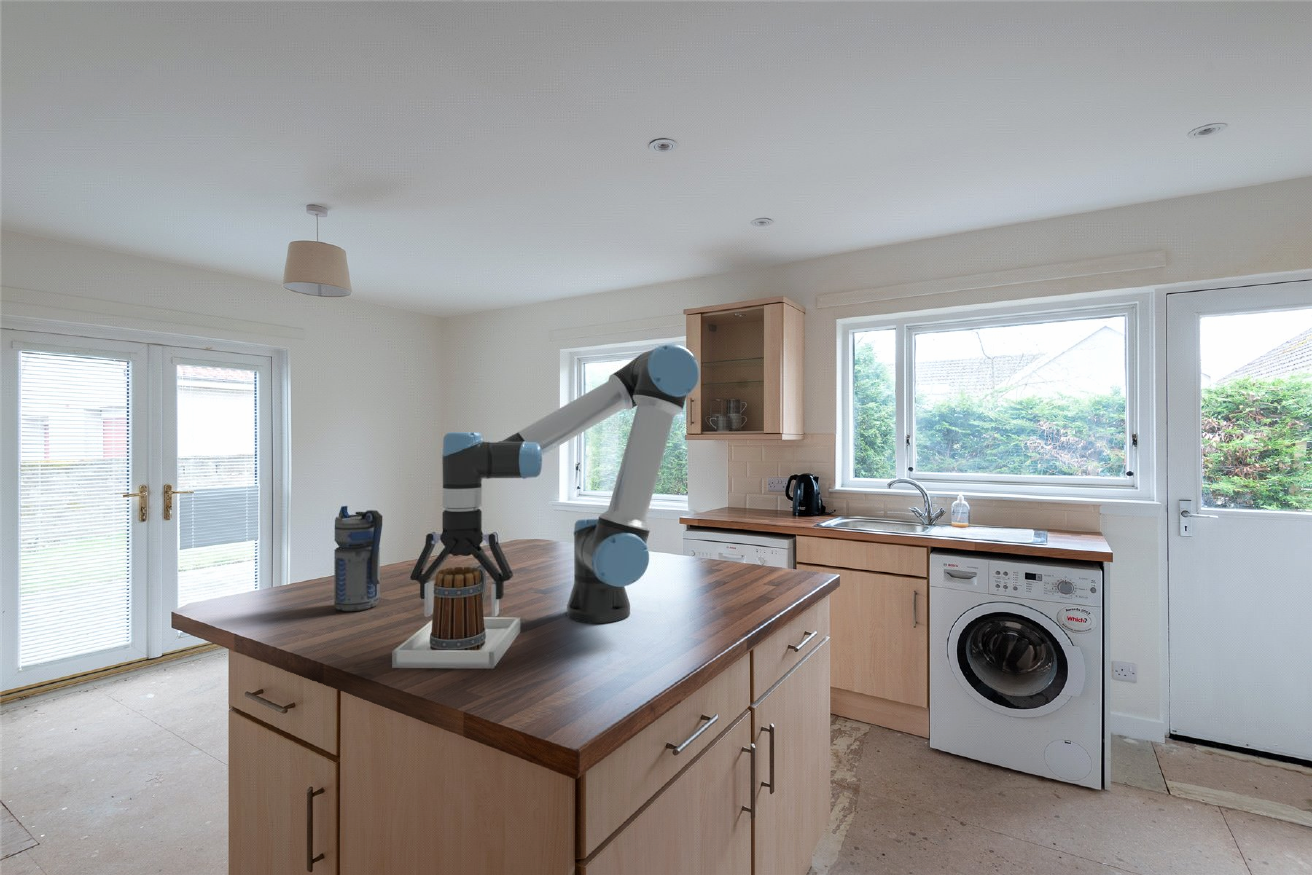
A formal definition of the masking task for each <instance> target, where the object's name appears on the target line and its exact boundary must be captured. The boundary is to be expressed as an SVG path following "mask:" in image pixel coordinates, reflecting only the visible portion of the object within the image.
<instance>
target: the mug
mask: <svg viewBox="0 0 1312 875" xmlns="http://www.w3.org/2000/svg"><path fill="white" fill-rule="evenodd" d="M486 572H487V571H486V570H485V569H484V567H483V566H482V565H481V564H480V563H479V564H478V563H477V564H476V563H473V564H471V565H470V566H464V567H462V566H455V567H454V568H452V567H447V568H445V569H438V571H436V575H435V582H434V583H433V614H432V619H431V621H432V631H431V633H430V649H431V650H479V649H481V648H482V647H483V646H484V644H485V639H486V631H485V628H484V617H485V616H484V605H483V604H484V601H485V597H486V587H487V573H486Z"/></svg>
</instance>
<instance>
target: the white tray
mask: <svg viewBox="0 0 1312 875" xmlns="http://www.w3.org/2000/svg"><path fill="white" fill-rule="evenodd" d="M521 619H522V618H521V617H497V616H496V617H489V616H488V617H485V616H484V628H485V631H486V639H485V644H484V646H483V647H482V648H481V649H479V650H431V649H430V633H431V631H432V620H430V621H429V622H427V624H426V625H424V626H422V628H420V629H419V630H418V631H417V632H415V633H414V634H413V635H411V636H410V637H409V638H407V639H406V640H405V641H404V642H402V643H401V644H400V645H399V646H397V647H396V648H395V649H394V650H392V651H391V653H392V656H391V658H392V659H391V664H392V666H391V667H392V668H391V669H494V668H495V667H496V665H497V664H498V663H499V661H500V660H501V658H502V657H503V656H504V655H505V653H506V652H507V651H508V649H509V648H510V647H511V645H512V644H513V642H514V641H515V639H516V638H517V637H518V635H519V634H520V633H521V631H522V630H521Z"/></svg>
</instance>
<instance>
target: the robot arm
mask: <svg viewBox="0 0 1312 875" xmlns="http://www.w3.org/2000/svg"><path fill="white" fill-rule="evenodd" d="M699 379H700V367H699V364H698V361H697V359H696V358H695V356H694V354H693V353H692V352H691V351H690V350H689V349H688V348H686V347H685V346H683V345H680V344H675V343H671V344H670V343H669V344H661V345H658V346H657V347H655V348H653V349H651V350H648V351H645V352H643V353H641V354H639V355H638V356H637V357H635V358H634V359H632V360H631V361H630V362H628V363H627V364H626V365H624V366H623V367H622V368H620V369H619V370H617V371H615V372H613V373H612V374H610V375H609V377H608V380H607V381H606V382H604V383H602V384H600V385H599V386H597V387H595V388H594V389H592V390H589V391H588V392H586V393H585V394H583V395H581V396H580V397H578V398H576V399H574V400H573V401H570V402H569V403H567V404H564V405H563V406H562V407H560V408H558V409H556V410H554V411H553V412H551V413H548V414H547V415H545V416H543V417H542V418H540V419H538V420H537V421H535V422H533V423H531V424H529V425H528V426H526V427H524V428H522V429H521V430H519V431H517V432H515V433H514V434H511V435H510V436H508V437H506V438H504V439H503V440H500V441H496V442H495V441H493V442H491V441H483V435H482V434H481V433H480V432H479V431H478V432H475V431H474V432H472V431H471V432H466V431H465V432H462V431H461V432H459V431H456V432H455V431H453V432H452V431H450V432H447V433H446V434H445V435H444V436H443V438H442V439H443V440H442V455H441V456H442V459H441V460H442V463H441V464H442V502H441V503H442V506H441V507H442V508H444V509H445V510H443V511H442V512H441V513H442V517H441V518H442V519H441V520H442V521H441V522H442V527H441V528H442V532H441V533H436V532H435V531H432V532H430V533H428V534H426V535H425V544H424V547H423V549H422V551H421V553H420V554H419V558H418V559H417V561H416V564H415V565H414V568H413V569H412V572H411V574H410V576H409V577H410V578H409V579H410V580H412V581H416V582H418V583H419V597H420V599H421V600H424V618H428V617H430V616H431V615H433V606H434V580H431V578H432V577H433V575H435V573H437V572H438V571H437V570H439V568H440V566H442V564H443V563H444V562H445V561H446V560H447V558H448V557H450V555H452V556H453V557H458V556H463V557H469V556H470V555H472V556H473V558H475V559H476V560H477V561H478V563H479V564H481V565H482V566H483V567H484V569H485V572H487V574H488V575H489V576H490V577H491V579H492V580H493V581H494V582H492V583H491V588H490V589H491V591H490V592H491V598H490V599H491V602H490V604H491V605H490V607H491V610H490V611H491V612H490V613H491V614H490V615H491V617H497V616H498V615H499V614H500V611H499V608H500V600H502V599H503V598H504V592H505V590H504V589H505V588H504V586H505V585H504V584H505V582H507V581H510V580H511V579H512V578H513V576H514V573H513V571H512V568H511V567H510V565H509V563H508V560H507V558H506V556H505V554H504V552H503V550H502V548H501V546H500V544H499V537H498V536H499V535H498V533H497V532H496V531H493V532H492V533H485V534H484V533H483V529H482V527H483V525H482V522H483V521H482V520H483V518H482V514H483V513H482V510H481V509H480V507H482V499H483V498H482V497H483V496H482V492H483V491H482V490H483V489H482V480H483V479H487V480H488V479H489V480H490V479H525V480H526V479H529V478H532V479H533V478H537V477H539V476H540V475H541V472H542V467H543V456H544V455H545V454H547V453H549V452H551V451H553V450H554V449H556V448H558V447H560V446H562V445H564V444H565V443H566V442H567V443H568V441H570V440H573V439H574V438H576V437H577V436H579V435H580V434H582V433H585V432H586V431H587V430H589V429H590V428H593V427H594V426H596V425H597V424H599V423H601V422H603V421H605V420H607V419H608V418H610V417H611V416H613V415H615V414H618V412H621V411H622V410H628V411H629V410H632V409H633V408H635V407H636V410H635V412H634V416H633V419H632V420H633V421H632V423H631V427H630V431H629V434H628V438H627V442H626V444H625V449H624V451H623V452H624V453H623V456H622V459H621V463H620V466H619V469H618V474H617V476H616V481H615V484H614V487H613V491H612V494H611V498H610V500H609V501H610V502H609V505H608V509H607V510H606V511H603V512H602V513H601V514H599V516H598V518H582V519H577V520H576V521H575V523H574V530H573V540H574V542H573V545H574V546H573V549H574V550H573V552H574V556H573V557H574V558H573V562H574V563H573V566H574V567H573V570H574V571H573V574H574V576H573V577H574V579H573V585H572V587H571V588H572V589H571V591H570V595H569V598H568V601H567V604H566V617H567V618H568V619H570V620H572V621H576V622H579V623H585V624H586V623H588V624H602V623H603V624H605V623H612V622H617V621H622V620H624V619H626V618H628V617H629V616H630V615H631V603H630V599H629V597H628V592H627V590H626V587H627V586H630V585H632V584H634V583H636V582H637V581H639V580H640V579H641V578H642V577H643V576H644V574H645V573H646V571H647V569H648V566H649V563H650V552H649V549H648V548H649V547H648V546H647V542H648V539H649V534H650V532H651V531H650V530H651V528H650V527H649V524H648V523H647V520H646V519H647V516H648V512H649V510H650V505H651V501H652V497H653V495H654V489H655V487H656V483H657V480H658V476H659V472H660V470H661V469H660V468H661V465H662V461H663V457H664V454H665V450H666V447H667V444H668V439H669V436H670V432H671V428H672V425H673V422H674V418H675V417H676V416H677V415H678V414H680V413H682V412H683V410H684V407H685V403H686V400H687V396H688V395H689V394H690V393H691V392H692V391H693V390H694V389H696V386H697V385H698V382H699ZM439 541H440V542H441V544H442V545H443V546H444V548H443V549H442V550H441V551H440V553H439V555H438V556H437V557H436V558H435V559H434V560H433V562H432V563H431V564H430V566H429V567H428V568H427V569H426V570H425V567H426V566H427V563H428V561H429V559H430V557H431V555H432V553H433V551H434V549H435V547H436V545H437V544H438V543H439ZM484 541H485V543H486V544H487V545H488V546H489V550H490V552H491V553H492V555H493V558H494V559H495V561H496V564H497V566H498V567H499V568H498V567H497V566H496V565H495V564H494V563H493V561H492V560H491V559H490V558H489V556H488V555H487V554H486V552H485V551H484V549H483V548H482V547H481V544H482V543H483V542H484ZM424 570H425V572H424Z"/></svg>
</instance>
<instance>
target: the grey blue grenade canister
mask: <svg viewBox="0 0 1312 875" xmlns="http://www.w3.org/2000/svg"><path fill="white" fill-rule="evenodd" d="M382 530H383V515H382V514H381V513H380V512H379V511H378V510H375V509H374V510H373V509H372V510H371V509H369V510H365V511H355V512H354V514H349V513H348V505H344V506H343V505H342V506H341V507H340V510H339V512H338V516H336V517H335V519H334V542H335V543H336V545H337V546H338V547H336V548H335V549H334V554H333V555H334V556H333V557H334V568H333V569H334V576H333V577H334V579H333V580H334V582H333V583H334V591H333V593H334V599H333V600H334V602H333V604H334V606H335V608H336V610H338V611H342V612H358V611H365V610H369V609H371V608H373V607H375V606H377V605H378V604H379V601H380V599H381V598H380V592H381V591H380V589H381V588H380V587H381V586H380V585H381V581H380V580H381V579H380V578H381V577H380V574H381V573H380V572H381V571H380V570H381V569H380V567H381V566H380V565H381V561H380V559H381V556H380V554H381V553H380V552H381V551H380V550H381V549H380V548H381V547H380V545H381V544H380V543H381V537H382Z"/></svg>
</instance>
